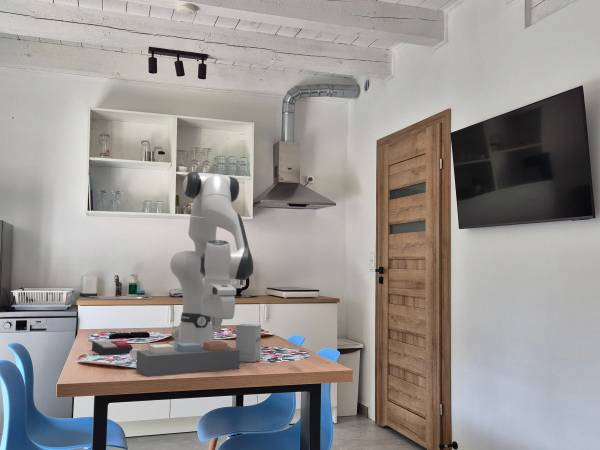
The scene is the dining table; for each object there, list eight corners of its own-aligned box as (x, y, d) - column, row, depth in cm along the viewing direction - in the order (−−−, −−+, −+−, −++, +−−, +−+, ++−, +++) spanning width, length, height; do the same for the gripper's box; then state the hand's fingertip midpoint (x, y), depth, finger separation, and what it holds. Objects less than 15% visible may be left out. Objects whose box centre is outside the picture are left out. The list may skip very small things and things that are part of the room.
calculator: (103, 346, 205) (92, 339, 218) (102, 358, 205) (91, 350, 218) (133, 344, 212) (120, 338, 224) (132, 356, 212) (120, 348, 224)
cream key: (148, 358, 177) (149, 345, 178) (167, 357, 181) (167, 343, 181) (154, 361, 172) (154, 347, 173) (173, 360, 175) (174, 346, 176)
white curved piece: (153, 362, 196) (153, 350, 196) (131, 364, 190) (132, 352, 191) (141, 358, 202) (141, 347, 203) (120, 361, 197) (120, 349, 197)
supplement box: (255, 362, 196) (255, 325, 197) (234, 361, 198) (235, 325, 199) (260, 359, 203) (261, 323, 204) (241, 358, 205) (241, 323, 206)
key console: (136, 370, 178) (136, 350, 179) (224, 363, 194) (224, 345, 194) (147, 376, 168) (147, 356, 168) (238, 368, 183) (239, 350, 184)
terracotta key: (202, 355, 187) (203, 342, 187) (219, 354, 190) (220, 341, 190) (209, 357, 182) (210, 344, 182) (227, 356, 185) (227, 343, 185)
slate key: (176, 356, 182) (177, 343, 182) (194, 355, 185) (194, 342, 185) (182, 359, 177) (183, 345, 177) (200, 358, 180) (201, 344, 180)
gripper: (196, 287, 195) (195, 328, 193) (220, 290, 177) (219, 334, 176) (213, 287, 198) (212, 327, 197) (238, 290, 180) (237, 333, 179)
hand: (216, 331), depth 186 cm, fingers closed
